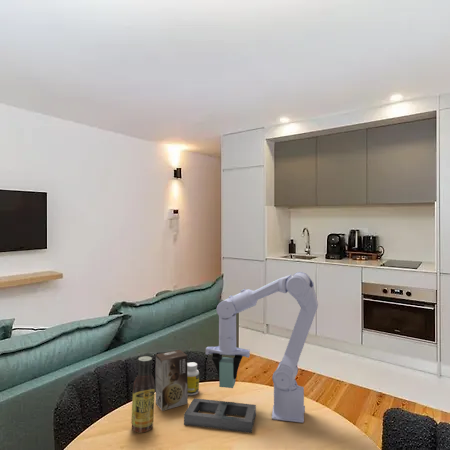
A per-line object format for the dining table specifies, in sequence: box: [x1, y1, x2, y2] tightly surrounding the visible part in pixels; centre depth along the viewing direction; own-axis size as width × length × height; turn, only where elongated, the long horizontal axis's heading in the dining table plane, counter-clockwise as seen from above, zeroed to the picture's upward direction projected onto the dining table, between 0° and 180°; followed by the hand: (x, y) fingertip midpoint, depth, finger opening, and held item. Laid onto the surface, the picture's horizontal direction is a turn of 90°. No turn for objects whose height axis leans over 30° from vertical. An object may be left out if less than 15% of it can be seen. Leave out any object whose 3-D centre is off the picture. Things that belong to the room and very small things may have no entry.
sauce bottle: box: [130, 355, 156, 434], centre depth 100 cm, size 6×6×20 cm
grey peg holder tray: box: [183, 397, 257, 434], centre depth 104 cm, size 20×10×3 cm, turn 78°
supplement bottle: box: [187, 361, 200, 396], centre depth 122 cm, size 5×5×10 cm
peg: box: [218, 356, 236, 389], centre depth 114 cm, size 4×4×8 cm
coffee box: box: [155, 349, 189, 412], centre depth 114 cm, size 9×6×16 cm
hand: (227, 377), depth 114 cm, fingers closed on peg, 4 cm apart
